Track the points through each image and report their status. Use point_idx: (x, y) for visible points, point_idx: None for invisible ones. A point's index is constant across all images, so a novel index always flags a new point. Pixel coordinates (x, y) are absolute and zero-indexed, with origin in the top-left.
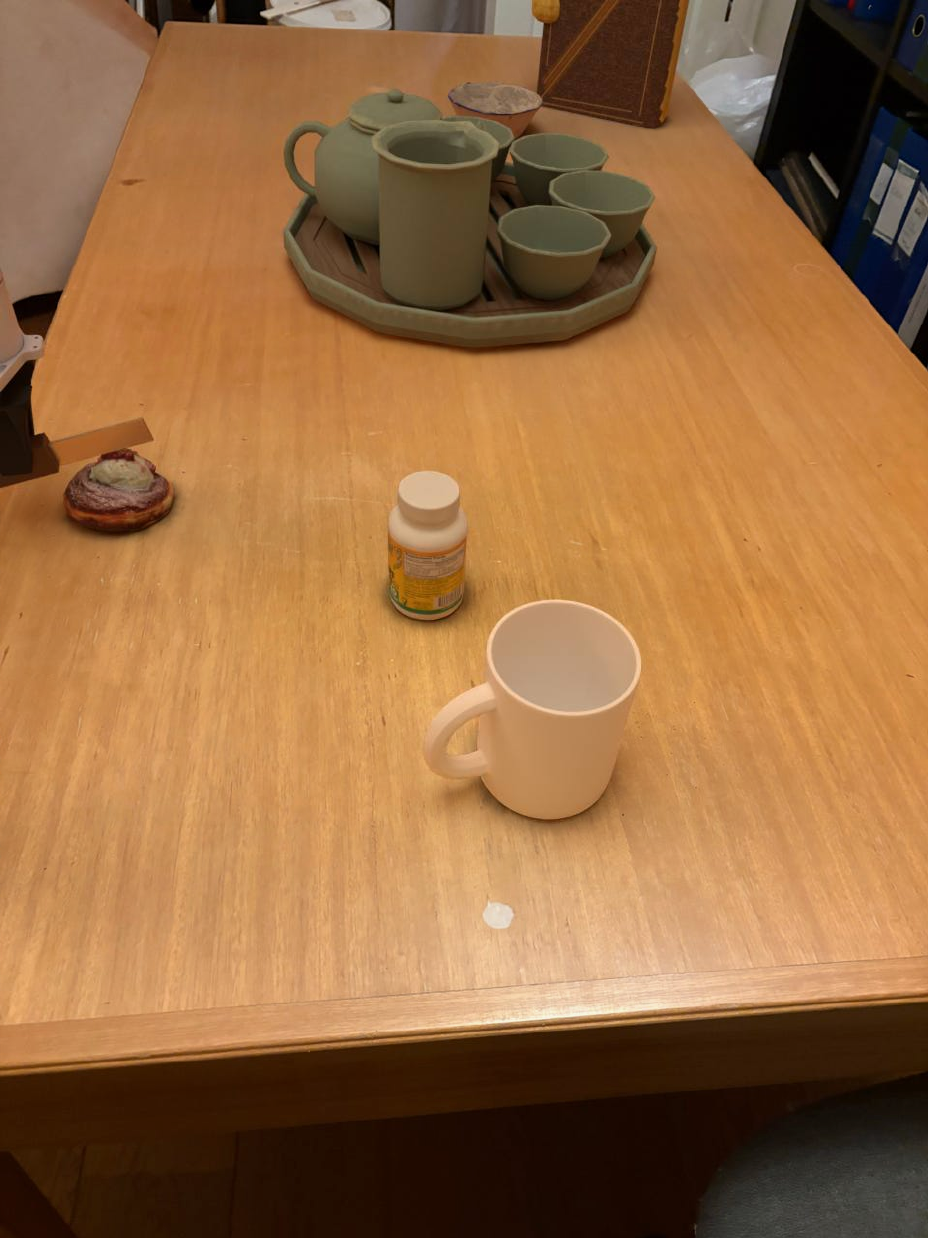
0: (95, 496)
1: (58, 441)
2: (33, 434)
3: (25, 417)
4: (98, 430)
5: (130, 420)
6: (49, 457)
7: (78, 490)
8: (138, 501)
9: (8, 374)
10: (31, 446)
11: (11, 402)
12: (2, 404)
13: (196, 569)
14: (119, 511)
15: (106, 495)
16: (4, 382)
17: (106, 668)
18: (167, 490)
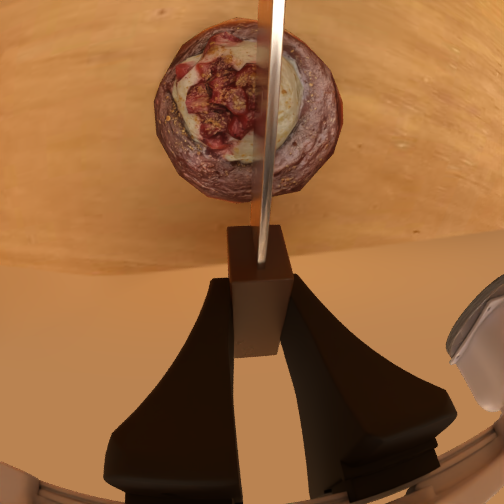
0: (312, 150)
1: (266, 247)
2: (229, 300)
3: (414, 376)
4: (272, 145)
5: (272, 34)
6: (286, 254)
7: (282, 181)
8: (323, 73)
9: (477, 497)
10: (279, 298)
11: (438, 431)
12: (431, 438)
13: (412, 29)
14: (339, 109)
15: (315, 129)
16: (486, 481)
17: (494, 158)
18: None
